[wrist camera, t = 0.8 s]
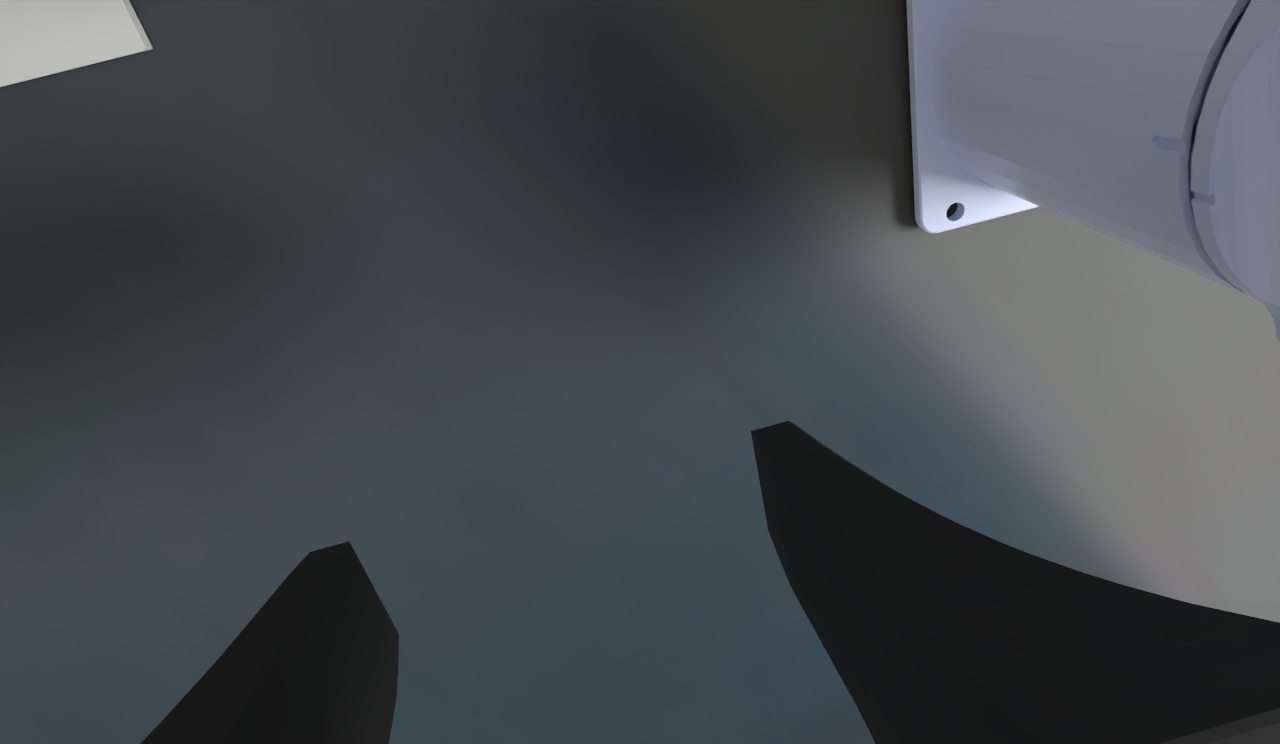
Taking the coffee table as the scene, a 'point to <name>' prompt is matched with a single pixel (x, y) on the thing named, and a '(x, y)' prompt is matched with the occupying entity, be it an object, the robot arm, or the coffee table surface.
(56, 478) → the coffee table surface
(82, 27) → the felt pad
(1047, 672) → the robot arm
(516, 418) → the coffee table surface
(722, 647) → the coffee table surface
